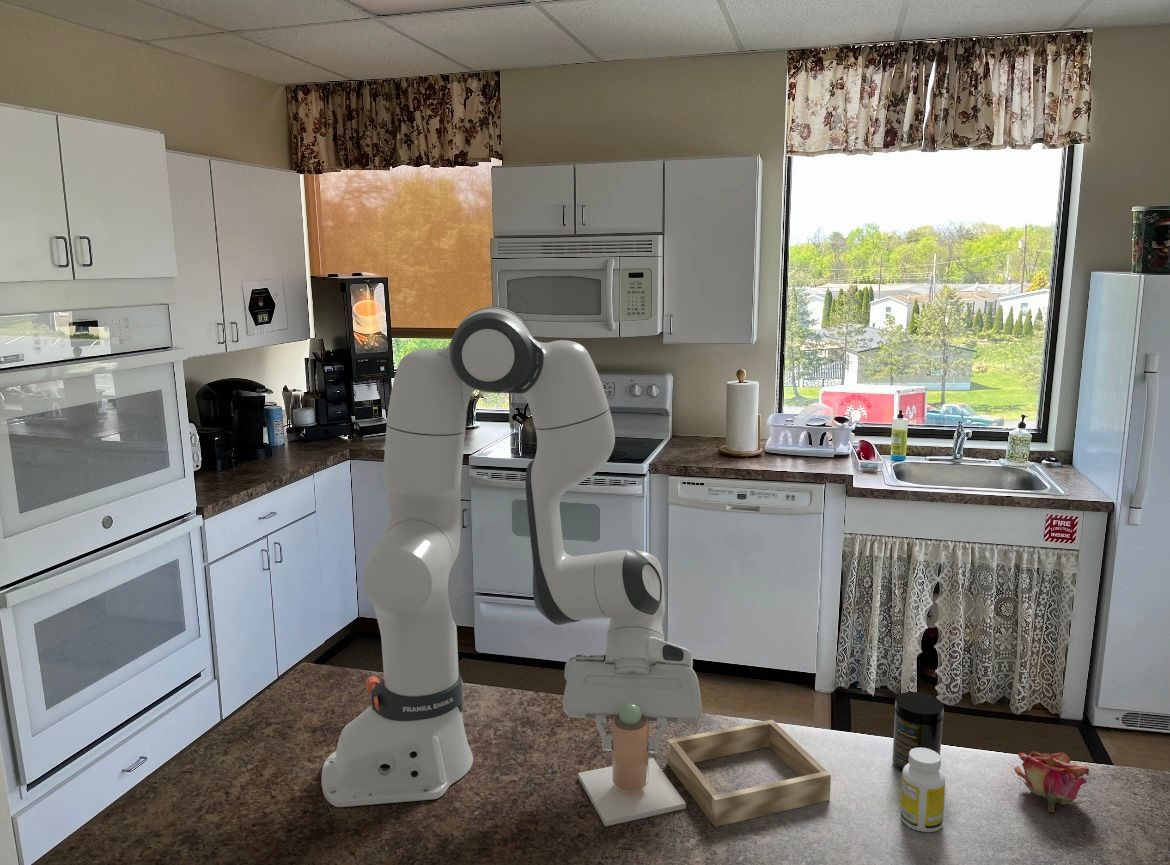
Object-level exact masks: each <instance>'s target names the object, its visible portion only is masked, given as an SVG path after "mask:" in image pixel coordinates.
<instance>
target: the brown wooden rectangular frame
mask: <svg viewBox="0 0 1170 865" xmlns="http://www.w3.org/2000/svg"><path fill="white" fill-rule="evenodd" d="M766 748H769V749H771V751H773V752H774V754H776V756H777V757H778V758H780V759H781V760H782V762H784V763H785V764H786V765H787V766H788V767H789V769H791V770H792V771H793V773H794V774H795V775H797V777H793V778H788V779H784V780H779V781H774V782H770V783H765V784H760V785H755V786H751V787H747V788H743V789H742V788H741V789H739V790H738V789H737V790H734V791H728V792H725V793H718V792H717V790H716V789H715V788H714V787H713V785H712V784H711V783H710V782H709V780H708V779H707V778H706V777H705V776H704V774H703V773H702V771H700V769H699V768H698V767H697V765H695V763H699V762H702V761H708V760H713V759H718V758H722V757H727V756H731V755H737V754H743V753H746V752H752V751H757V750H761V749H766ZM667 766H668V767H669V768H670V769H671V771H672V772H673V773H674V775H676V777H677V778H678V780H679V781H680V782H681V784H682V785H683V787H684V788H685V789H686V790H687V792H688V793H689V794H690V796H691V797H692V799H693V800H694V801H695V802H696V804H697V805H698V807H700V809H701V811H702V812H703V813H704V815H705V816H706V817H707V819H708V820H709V821H710V822H711V823H712V825H713V826H714V827H715V828H718V827H722V826H724V825H726V826H727V825H730V824H733V823H738V822H742V821H746V820H751V819H755V818H760V817H764V816H769V815H772V814H777V813H781V812H785V811H789V810H794V809H798V808H803V807H807V806H812V805H816V804H819V803H825V802H828V801H830V799H831V781H832V774H831V773H830V772H829V771H828V770H826V769H825V767H824V766H822V765H821V764H820V763H819V762H818V761H817V760H816V759H815V758H814V757H813V756H812V755H811V754H809V752H808V751H807V750H805V749H804V748H803V747H802V746H801V744H799V743H798V742H797V741H796V740H795V739H794V738H793V737H791V735H789V734H788V733H787V732H786V731H785V730H784V729H783V728H782V727H781V726H780V725H779V724H778V723H777V722H776V721H774V719H768V720H763V721H757V722H752V723H748V724H743V725H737V726H731V727H726V728H722V729H717V730H712V731H705V732H701V733H697V734H692V735H686V736H681V737H675V738H670V739H667Z"/></svg>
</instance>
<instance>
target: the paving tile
mask: <svg viewBox="0 0 1170 865" xmlns="http://www.w3.org/2000/svg"><path fill="white" fill-rule="evenodd" d="M577 775H578V776H577V778H578V781H579V782H580V784H581V786H582V787H583V789H584V791H585V793H586V795H587V796H588V798H589V800H590V801H591V804H592V805H593V807H594V809H595V811H596V813H597V815H598V816H599V818H600V820H601V822H602V823H603V825H604V827H610V826H613V825H619V824H622V823H627V822H632V821H636V820H640V819H644V818H648V817H653V816H658V815H663V814H667V813H672V812H675V811H680V810H685V809H687V802H686V801H685V800H684V799H683V797H682V796H681V795H680V793H679V792H678V790H677V789H676V788H675V786H674V785H673V783H672V782H671V781H670V780H669V778H668V776H667V775H666V774H665V773H664V771H663V770H662V768H661V767H660V765H659V764H658V762H656V760H655V759H654V758H653V757H650V758H649V782H648V784H647V785H646V786H645V787H643V788H641V789H638V790H624V789H621V788H619V787H617V786H616V785H615V784H614V783H613V775H612V765H611V766H610V765H609V766H606V767H599V768H597V769H596V768H595V769H591V770H587V771H586V770H585V771H582V772H581V771H579V772H578V773H577Z"/></svg>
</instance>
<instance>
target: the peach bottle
mask: <svg viewBox="0 0 1170 865" xmlns="http://www.w3.org/2000/svg"><path fill="white" fill-rule="evenodd" d="M649 722H650V721H648V719H647V718H646V717H644V716H642V715H641V710H640V708H639V707H638V706H637V705H636V704H634V703H626V704H624V705H623V706H622V707H621V708H620V711H619V715H617V716H616V717H614V718H613V720H611V736H612V751H611V753H612V754H611V756H612V758H611V759H612V762H611V763H612V765H611V766H612V775H613V783H614V784H615V785H616V786H617V787H619V788H621V789H624V790H638V789H641V788H643V787H645V786H646V785H647V784H648V782H649V759H650V758H649V754H650V753H648V745H649V743H648V739H649V738H650V737H649V733H650V732H649V728H650V726H649Z"/></svg>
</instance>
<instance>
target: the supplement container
mask: <svg viewBox="0 0 1170 865" xmlns="http://www.w3.org/2000/svg"><path fill="white" fill-rule="evenodd" d="M894 703H895V704H894V705H895V706H894V723H893V725H894V726H893V741H892V742H893V744H892V763H893V764H894V766H895V767H896V768H897V769H898V770H899V771H900V772H902V773H903V768H904V767H905V765H907V764H908V763H909V752H910V750H911V749H914V748H927V749H931V750H933V751H935V752H937V753H938V754H939V755H940V756H941V751H942V750H941V748H942V736H943V735H942V733H943V720H944V709H945V706H944V703H943V702H942V701H941V700H940V699H938V698H937V697H935V696H933V695H930V694H927V693H924V692H919V691H918V692H917V691H907V692H906V691H905V692H902V693H899V694H898V695H896V697H895V702H894Z"/></svg>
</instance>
